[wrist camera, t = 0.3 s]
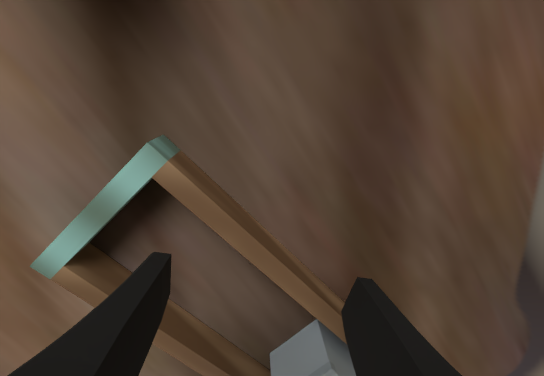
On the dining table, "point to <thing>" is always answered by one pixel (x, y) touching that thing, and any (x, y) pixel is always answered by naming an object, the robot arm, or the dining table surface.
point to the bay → (218, 216)
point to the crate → (312, 354)
